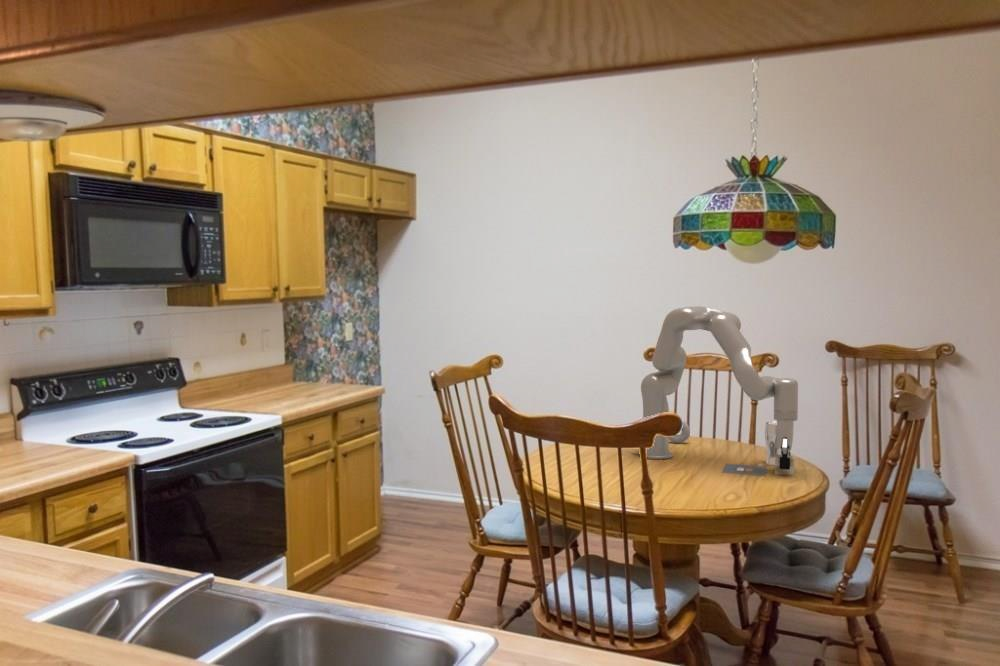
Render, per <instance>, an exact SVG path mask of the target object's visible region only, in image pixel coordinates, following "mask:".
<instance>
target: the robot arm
mask: <svg viewBox="0 0 1000 666" xmlns="http://www.w3.org/2000/svg"><path fill="white" fill-rule="evenodd" d="M741 327H742V323H741V320H740V318H739V317H738V316H737V315H736V314H734V313H732V312H728V311H723V310H718V309H715V308H711V307H706V306H685V307H679V308H676V309H673V310H671V311H670V312H668V313H667V315H666V316H665V318H664V320H663V323H662V326H661V330H660V333H659V335H658V338H657V341H656V344H655V345H656V346H655V348H654V351H653V354H652V359H651V363H652V365H653V368H655V370H658V371H657V372H651V373H648V374H647V375H645V376H644V378H643V379H642V380H641V384H640V392H641V398H642V419H643V418H644V417H647V416H651V415H655V414H658V413H662V412H669V413H670V408H669V402H668V398H667V397H668V396H670V395H673V394H674V393H675V392H677V390H678V388H679V385H680V383H681V380H682V377H683V373H684V371H685V368H686V364H687V352H686V350H685V349H684V348H683V347H682V346H681V345H682V343H683V340H684V332H685V331H695V330H697V331H699V330H702V331H708V332H709V333H710V334H711V335H712V336H713V337H714V339H715V341H716V342H717V344H718V345H719V347H720V348H721V349H722V351H723V352H724V354H725V355H726V357H727V359H728V360H729V363H730V368H731V371H732V373H733V376H734V378H735V380H736V382H737V383H738V384H739V386H740V387H741V389H742V391H744V393H745V395H746V396H747V397H749V399H751V400H754V401H763V400H766V399H769V398H773V420H775V421H776V422H777V428H776V449H778V448H780V447H781V449H780V450H781V452H780V469H787V470H789V469H790V458H789V455H791V450H792V448H793V444H794V443H793V441H794V428H795V427H794V423H795V422H797V421H798V420H799V419H798V414H799V413H798V404H799V403H798V402H799V383H798V381H797V380H796V379H794V378H787V377H786V378H785V377H783V378H781V377H780V378H779V377H773V376H769V375H763V376H760V374H759V373H758V372H757V370H756V368H755V367H754V365H753V363H752V359H751V356H752V355H751V354H752V348H751V345H750V344H749V342H748V341H747V339H746V338H745V337H744V335H743V334H742V332H741V331H740V330H741ZM669 446H670V440H669V437H663V436H656V438H655V442H654V446H653V447H652V448H649V449H647V457H648V458H647V459H651V460H667V459H671V458H673V457H674V453H673V452H672V451H670V449H669V448H670V447H669ZM787 455H788V456H787Z"/></svg>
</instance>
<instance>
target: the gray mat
mask: <svg viewBox="0 0 1000 666" xmlns="http://www.w3.org/2000/svg"><path fill="white" fill-rule="evenodd" d="M767 469H768V466H763V465H751V464H739V463H738V464H735V463H725V464H724V467H723V469H722V471H721V473H723V474H734V475H736V474H737V475H748V476H756V477H757V476H758V477H759V476H762V477H766V474H767Z"/></svg>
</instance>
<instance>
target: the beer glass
mask: <svg viewBox="0 0 1000 666" xmlns="http://www.w3.org/2000/svg"><path fill="white" fill-rule="evenodd" d="M764 427H765V428H764V441H765V447H766V461H765V463H766V464H767V465H769V466H770V465H771V466H775V456H776V455H780V452H781V450H780V449H781V447H780V448H778V449H776V428H777V421H766V422H765V426H764Z"/></svg>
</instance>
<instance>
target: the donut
mask: <svg viewBox="0 0 1000 666" xmlns="http://www.w3.org/2000/svg"><path fill="white" fill-rule="evenodd" d="M690 434H691V429H690V427H689V424H688V423H687V422H686V421H684V420H683V428H682V430H681V433H680V434H676V436H674V437H669V442H672V443H674V444H682V443H684V442H686V441H687V440H688V439H689V438H690Z"/></svg>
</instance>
